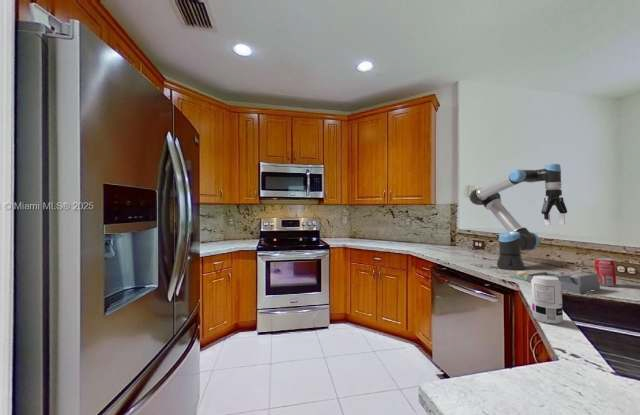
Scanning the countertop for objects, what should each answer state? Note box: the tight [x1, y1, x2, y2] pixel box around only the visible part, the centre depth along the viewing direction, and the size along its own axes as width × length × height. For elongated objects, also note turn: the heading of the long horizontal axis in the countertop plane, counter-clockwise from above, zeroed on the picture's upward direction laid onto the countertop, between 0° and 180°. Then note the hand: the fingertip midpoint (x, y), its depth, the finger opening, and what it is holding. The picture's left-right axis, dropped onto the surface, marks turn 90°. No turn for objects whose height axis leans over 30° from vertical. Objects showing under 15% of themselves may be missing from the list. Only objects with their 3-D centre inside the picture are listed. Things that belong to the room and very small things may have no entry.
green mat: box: [508, 274, 527, 282], centre depth 156 cm, size 10×12×1 cm
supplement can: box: [530, 275, 564, 324], centre depth 97 cm, size 8×8×15 cm
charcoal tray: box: [526, 271, 601, 294], centre depth 139 cm, size 23×15×8 cm, turn 20°
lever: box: [552, 268, 585, 279], centre depth 139 cm, size 18×13×2 cm
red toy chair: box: [594, 257, 617, 288], centre depth 138 cm, size 7×7×13 cm
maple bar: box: [516, 270, 534, 278], centre depth 155 cm, size 8×4×2 cm, turn 20°
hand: (554, 224), depth 168 cm, fingers open, 13 cm apart
